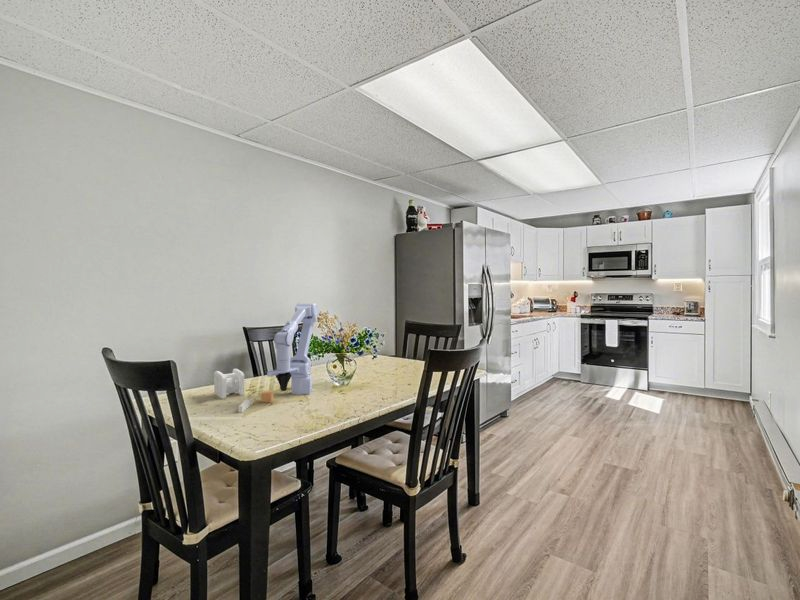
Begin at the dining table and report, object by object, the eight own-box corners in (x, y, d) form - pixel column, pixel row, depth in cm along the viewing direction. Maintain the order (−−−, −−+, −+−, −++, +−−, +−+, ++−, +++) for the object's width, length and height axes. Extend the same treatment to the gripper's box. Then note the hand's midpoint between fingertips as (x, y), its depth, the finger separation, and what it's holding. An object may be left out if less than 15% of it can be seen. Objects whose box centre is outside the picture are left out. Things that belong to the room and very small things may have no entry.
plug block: (273, 399, 182) (273, 390, 182) (270, 402, 178) (270, 393, 178) (264, 399, 182) (264, 390, 182) (261, 402, 178) (261, 393, 178)
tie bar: (253, 403, 175) (253, 398, 175) (243, 412, 163) (243, 406, 163) (247, 403, 175) (247, 398, 175) (237, 412, 163) (237, 406, 163)
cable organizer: (245, 398, 188) (245, 373, 188) (220, 402, 182) (220, 375, 181) (236, 391, 200) (236, 367, 200) (212, 394, 194) (212, 370, 193)
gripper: (293, 356, 188) (293, 386, 188) (263, 360, 177) (263, 391, 177) (301, 358, 183) (301, 388, 183) (271, 362, 172) (271, 394, 172)
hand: (283, 390), depth 180 cm, fingers closed
